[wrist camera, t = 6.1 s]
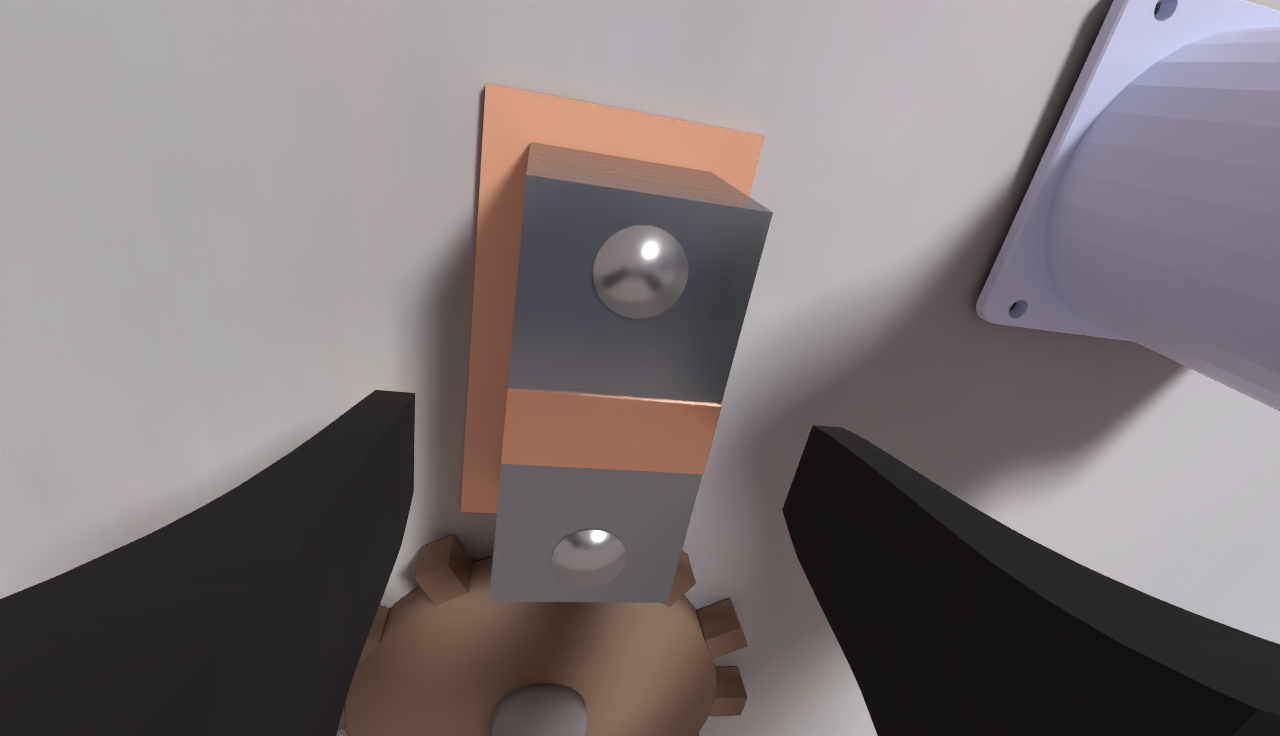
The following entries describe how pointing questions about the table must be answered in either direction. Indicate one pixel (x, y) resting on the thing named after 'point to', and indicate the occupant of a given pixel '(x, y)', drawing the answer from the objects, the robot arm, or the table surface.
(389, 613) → the sprocket
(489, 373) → the copper rectangular plate
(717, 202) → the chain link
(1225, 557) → the table surface
